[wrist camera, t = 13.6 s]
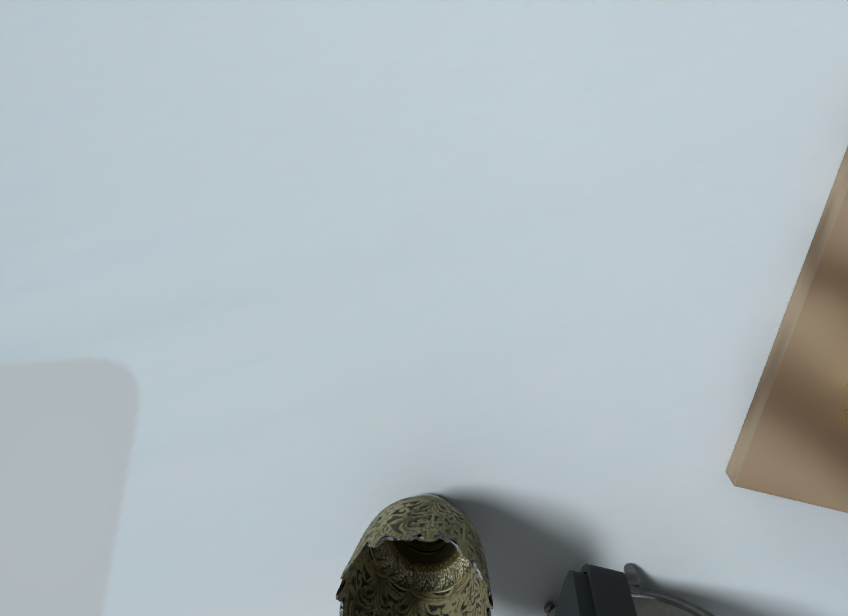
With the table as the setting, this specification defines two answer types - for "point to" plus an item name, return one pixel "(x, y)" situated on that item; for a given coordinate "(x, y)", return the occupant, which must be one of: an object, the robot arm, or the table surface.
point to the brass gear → (846, 409)
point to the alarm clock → (651, 600)
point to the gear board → (805, 380)
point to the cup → (417, 564)
